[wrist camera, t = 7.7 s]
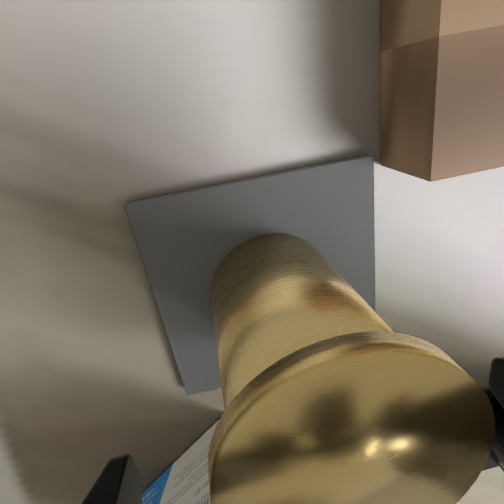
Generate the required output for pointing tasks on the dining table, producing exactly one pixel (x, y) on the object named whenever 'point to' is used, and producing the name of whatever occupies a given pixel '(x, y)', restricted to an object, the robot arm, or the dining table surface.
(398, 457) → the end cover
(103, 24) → the dining table surface
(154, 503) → the ink box
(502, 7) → the bore block
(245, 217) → the felt pad
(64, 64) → the dining table surface
